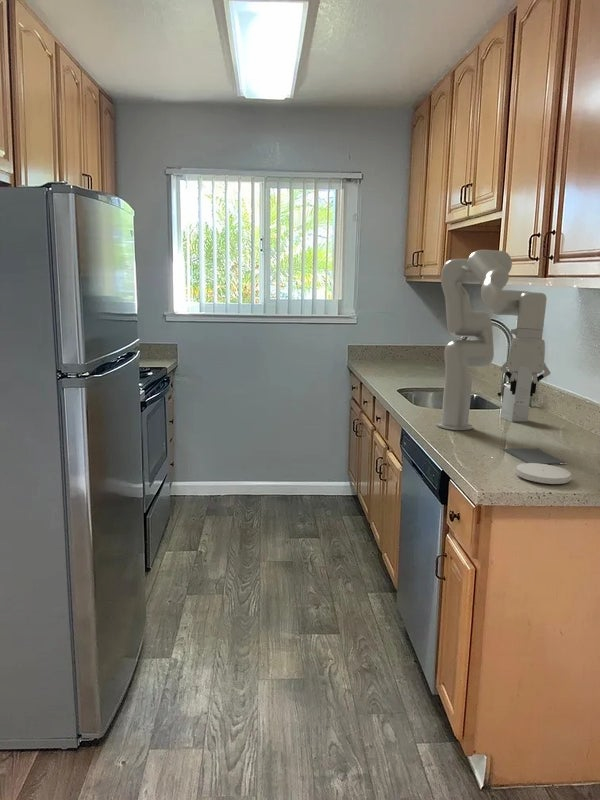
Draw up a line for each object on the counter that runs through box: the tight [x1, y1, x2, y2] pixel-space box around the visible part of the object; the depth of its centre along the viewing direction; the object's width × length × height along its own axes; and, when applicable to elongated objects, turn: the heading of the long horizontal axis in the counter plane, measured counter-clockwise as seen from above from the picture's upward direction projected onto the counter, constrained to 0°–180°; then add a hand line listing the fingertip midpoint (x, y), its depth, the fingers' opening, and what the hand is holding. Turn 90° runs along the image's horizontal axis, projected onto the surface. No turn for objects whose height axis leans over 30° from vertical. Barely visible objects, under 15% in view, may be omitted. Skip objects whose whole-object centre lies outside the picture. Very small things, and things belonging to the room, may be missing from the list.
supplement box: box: [500, 386, 531, 423], centre depth 249 cm, size 7×7×13 cm
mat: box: [502, 447, 567, 465], centre depth 196 cm, size 16×12×1 cm
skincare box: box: [514, 365, 533, 406], centre depth 193 cm, size 6×4×12 cm
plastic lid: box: [515, 462, 572, 485], centre depth 175 cm, size 14×14×2 cm
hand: (522, 394), depth 193 cm, fingers closed on skincare box, 4 cm apart
